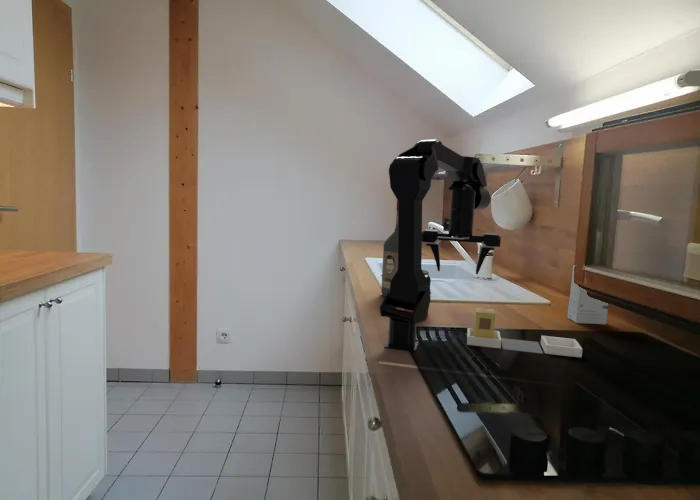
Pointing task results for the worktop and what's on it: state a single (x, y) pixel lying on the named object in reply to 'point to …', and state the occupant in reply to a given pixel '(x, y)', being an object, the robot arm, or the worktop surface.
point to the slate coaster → (521, 345)
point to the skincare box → (585, 306)
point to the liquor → (390, 259)
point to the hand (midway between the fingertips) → (457, 272)
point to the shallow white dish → (483, 339)
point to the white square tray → (561, 346)
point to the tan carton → (484, 323)
